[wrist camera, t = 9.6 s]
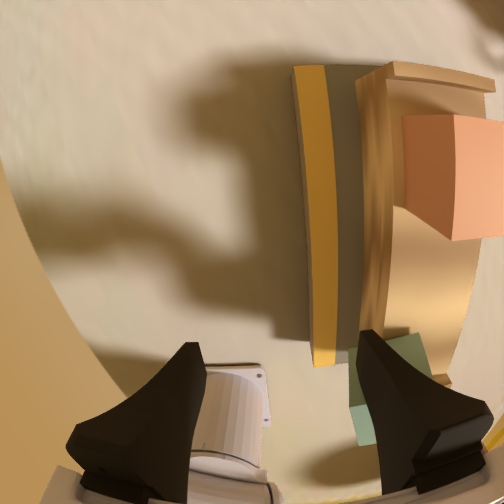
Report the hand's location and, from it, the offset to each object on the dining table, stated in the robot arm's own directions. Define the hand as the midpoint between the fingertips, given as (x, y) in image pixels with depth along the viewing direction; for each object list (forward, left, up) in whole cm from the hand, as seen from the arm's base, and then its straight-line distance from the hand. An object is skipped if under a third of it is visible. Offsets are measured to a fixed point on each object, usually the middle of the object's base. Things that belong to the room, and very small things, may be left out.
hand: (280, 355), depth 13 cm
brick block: (+8, -8, -2) cm, 11 cm away
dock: (+3, -8, -9) cm, 13 cm away
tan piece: (+3, -8, -6) cm, 11 cm away
